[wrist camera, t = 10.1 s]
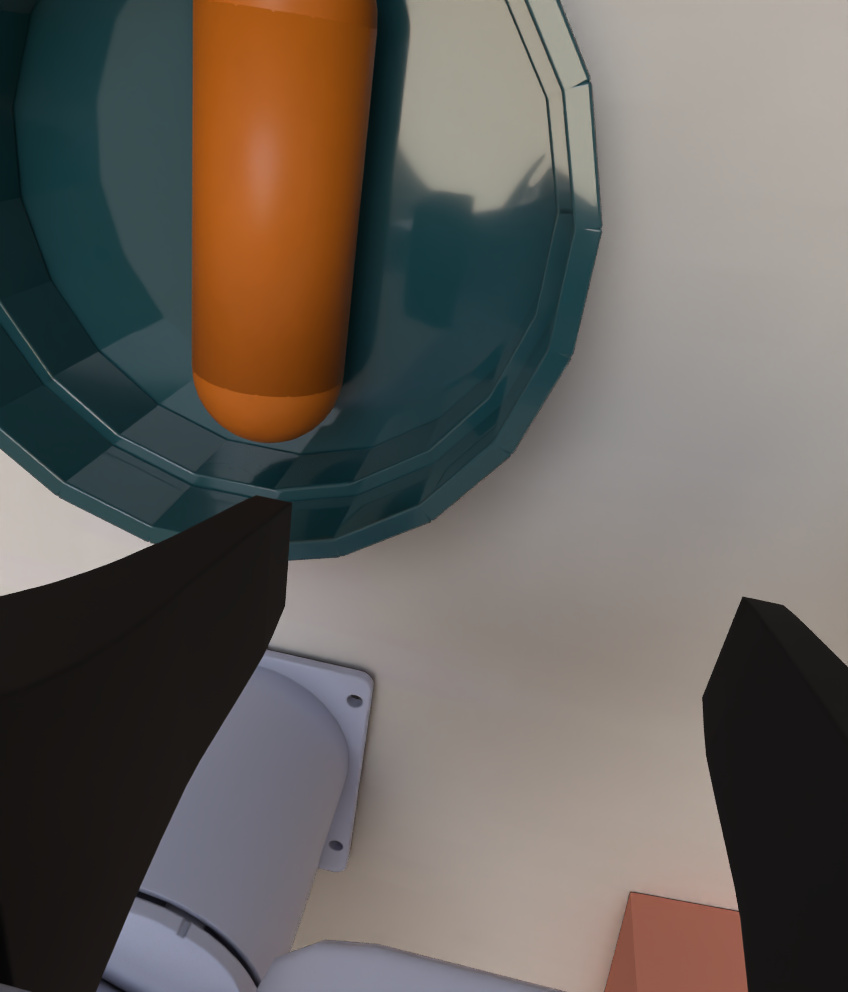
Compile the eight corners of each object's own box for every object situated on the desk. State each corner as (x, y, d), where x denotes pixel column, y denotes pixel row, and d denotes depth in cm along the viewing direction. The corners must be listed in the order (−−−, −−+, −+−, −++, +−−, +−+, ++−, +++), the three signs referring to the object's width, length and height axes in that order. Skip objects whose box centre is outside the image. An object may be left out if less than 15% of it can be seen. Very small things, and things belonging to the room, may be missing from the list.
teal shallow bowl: (522, 518, 23) (510, 622, 18) (26, 416, 24) (-98, 490, 19) (673, -143, 16) (712, -235, 11) (-40, -238, 17) (-257, -354, 12)
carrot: (329, 411, 22) (345, 470, 19) (194, 404, 21) (187, 466, 18) (372, -66, 17) (403, -89, 14) (196, -101, 16) (189, -134, 13)
